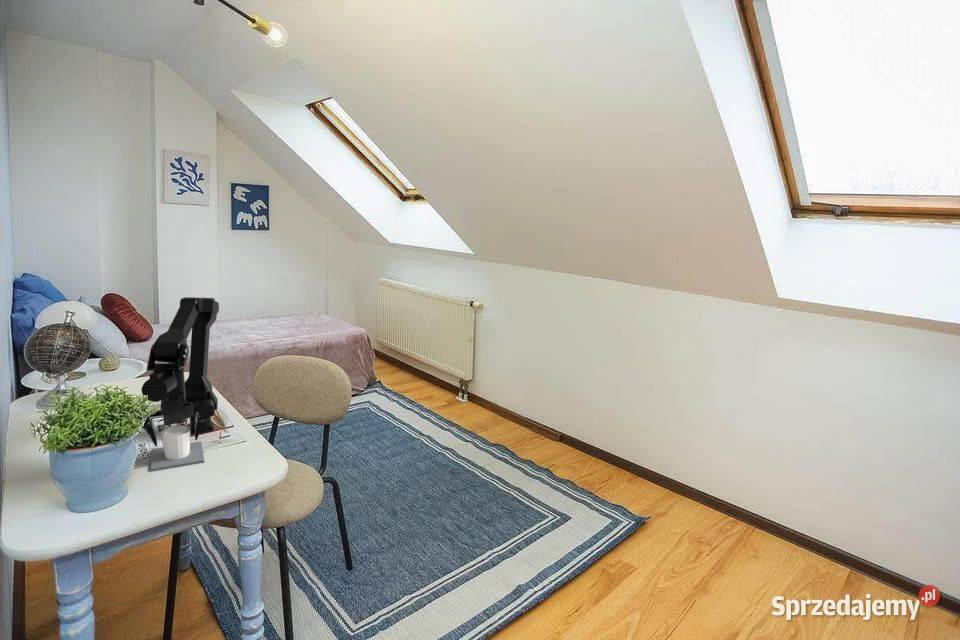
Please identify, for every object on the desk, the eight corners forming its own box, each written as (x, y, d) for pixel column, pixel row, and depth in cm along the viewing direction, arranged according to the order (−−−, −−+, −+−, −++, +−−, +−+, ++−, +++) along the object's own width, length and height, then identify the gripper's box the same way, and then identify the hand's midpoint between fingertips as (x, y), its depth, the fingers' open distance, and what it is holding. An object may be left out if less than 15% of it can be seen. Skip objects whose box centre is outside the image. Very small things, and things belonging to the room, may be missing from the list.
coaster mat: (151, 451, 146) (151, 448, 146) (201, 443, 152) (201, 441, 152) (150, 471, 136) (150, 469, 136) (204, 462, 142) (204, 460, 142)
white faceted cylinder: (179, 462, 140) (177, 437, 139) (156, 458, 142) (154, 433, 140) (198, 450, 147) (196, 426, 145) (175, 446, 148) (174, 423, 147)
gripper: (127, 403, 128) (133, 463, 132) (215, 392, 138) (218, 449, 141) (130, 387, 138) (135, 444, 141) (211, 379, 147) (214, 432, 151)
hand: (176, 442), depth 143 cm, fingers open, 9 cm apart
